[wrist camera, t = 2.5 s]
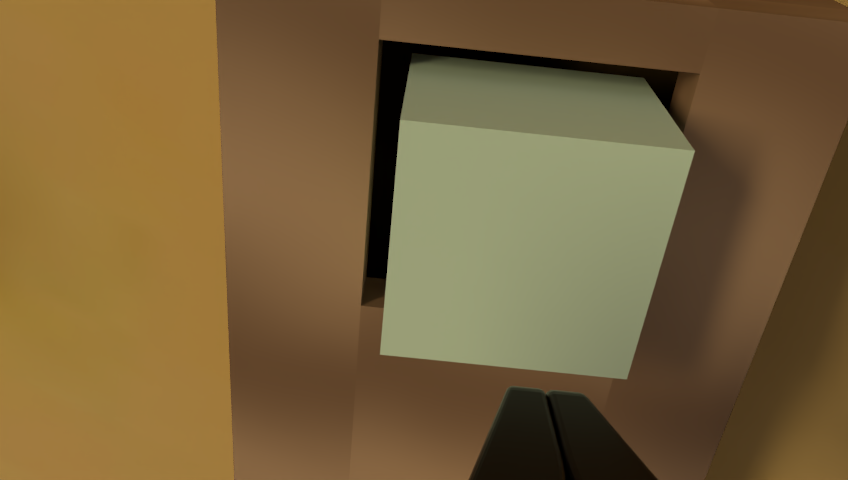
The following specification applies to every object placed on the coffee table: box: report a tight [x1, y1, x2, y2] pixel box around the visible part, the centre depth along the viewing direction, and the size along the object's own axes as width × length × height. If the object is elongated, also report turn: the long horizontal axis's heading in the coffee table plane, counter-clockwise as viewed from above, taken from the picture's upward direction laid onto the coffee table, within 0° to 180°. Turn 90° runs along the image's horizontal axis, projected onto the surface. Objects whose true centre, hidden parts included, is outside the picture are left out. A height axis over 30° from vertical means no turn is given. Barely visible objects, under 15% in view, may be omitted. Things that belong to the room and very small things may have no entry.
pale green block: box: [380, 53, 695, 379], centre depth 13 cm, size 4×4×3 cm
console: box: [216, 0, 848, 480], centre depth 17 cm, size 17×10×4 cm, turn 174°
